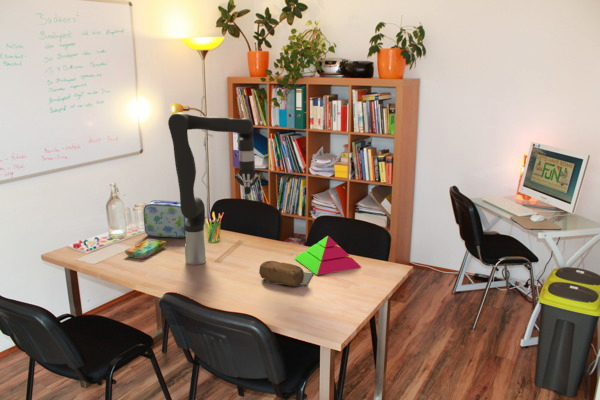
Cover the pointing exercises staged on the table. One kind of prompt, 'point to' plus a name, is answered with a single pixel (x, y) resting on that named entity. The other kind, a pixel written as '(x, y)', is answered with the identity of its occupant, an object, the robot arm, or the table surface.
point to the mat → (305, 281)
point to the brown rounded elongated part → (282, 273)
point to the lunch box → (164, 219)
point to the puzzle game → (145, 248)
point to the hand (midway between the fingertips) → (248, 194)
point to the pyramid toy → (326, 258)
